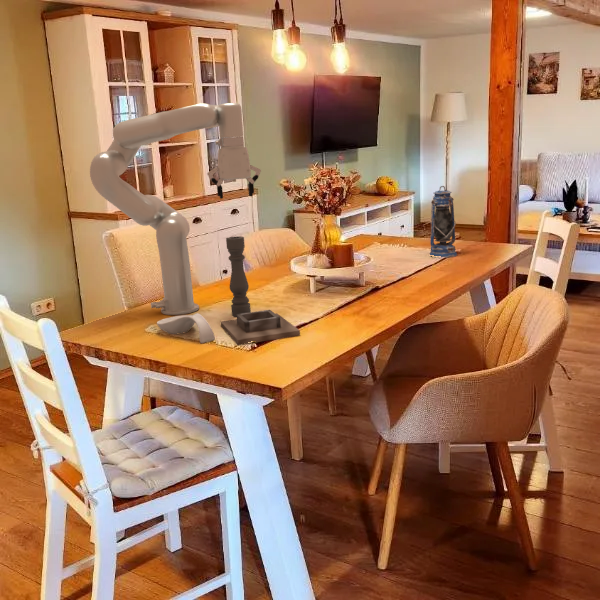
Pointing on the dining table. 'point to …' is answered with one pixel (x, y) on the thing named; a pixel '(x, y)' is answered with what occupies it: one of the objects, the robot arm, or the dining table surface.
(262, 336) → the socket board
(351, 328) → the dining table surface
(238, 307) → the candle holder
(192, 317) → the spoon rest
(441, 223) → the lantern
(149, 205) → the robot arm
